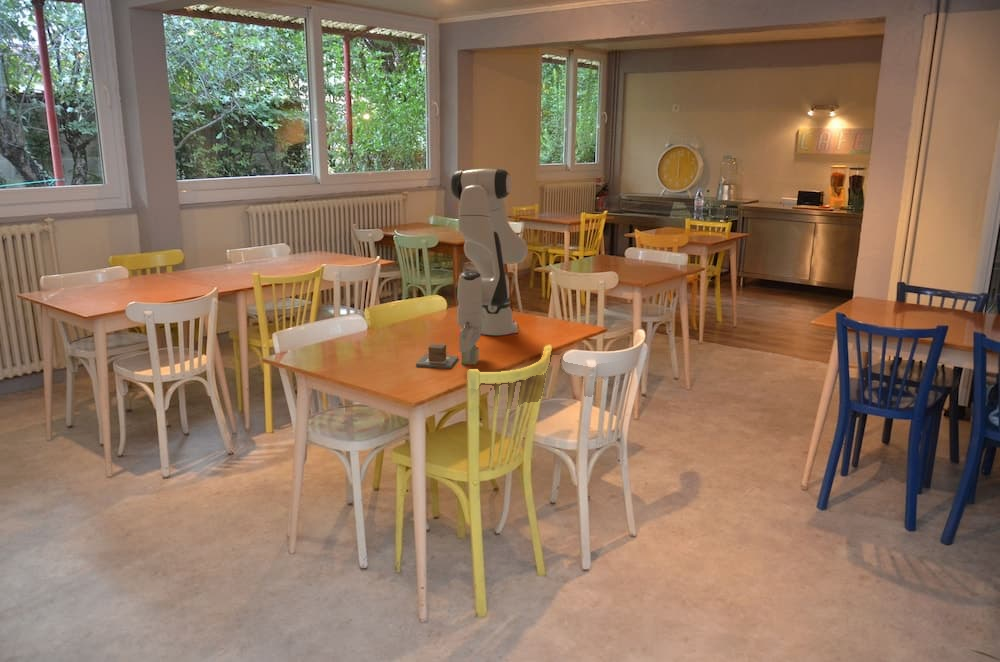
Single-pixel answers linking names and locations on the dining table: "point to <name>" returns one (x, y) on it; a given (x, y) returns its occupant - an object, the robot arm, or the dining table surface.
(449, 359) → the base plate
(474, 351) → the sage block
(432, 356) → the walnut block
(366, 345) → the dining table surface
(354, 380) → the dining table surface
